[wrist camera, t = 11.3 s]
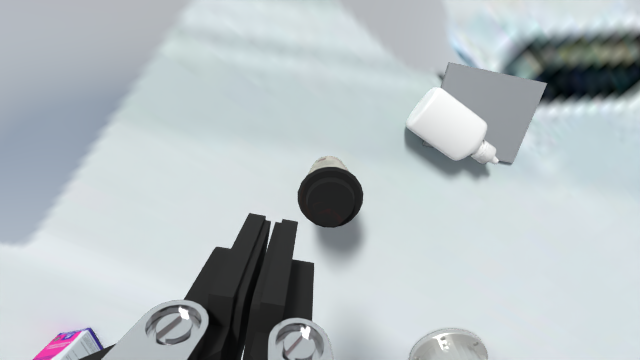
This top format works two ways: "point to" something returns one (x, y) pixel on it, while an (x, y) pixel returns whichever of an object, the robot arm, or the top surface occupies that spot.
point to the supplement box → (71, 346)
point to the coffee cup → (330, 193)
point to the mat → (495, 104)
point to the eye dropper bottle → (451, 127)
